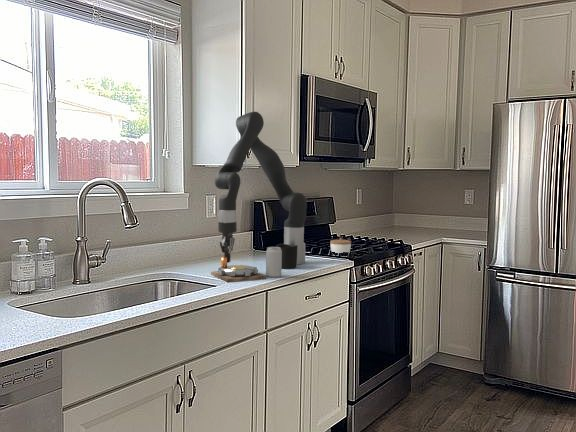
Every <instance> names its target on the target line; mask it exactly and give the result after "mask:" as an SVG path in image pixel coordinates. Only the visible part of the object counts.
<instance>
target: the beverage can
mask: <svg viewBox="0 0 576 432" xmlns="http://www.w3.org/2000/svg"><path fill="white" fill-rule="evenodd" d="M265 255H266V256H265V275H266V277H268V278H274V279H276V278H279V277H281V276H282V270H283V269H282V250H281V248H280V247H277V246H268V247H266V251H265Z"/></svg>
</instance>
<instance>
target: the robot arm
mask: <svg viewBox="0 0 576 432" xmlns="http://www.w3.org/2000/svg"><path fill="white" fill-rule="evenodd" d="M264 123H265V122H264V118H263V115H261V113H260V112H259V111H251V112H247V113H244V114H241V115H239V116H238V117H237V118H236V120H235V127H236V129H237V131H238V133H239V135H240V138H239V139H238V141H237V142H236V143H235V144H234V146H233V147H232V148H231V150H230V152H229V154H228V156H227V159H226V161H225V162H224V164H223V165H222V166H221V167H220V169H219V170H218V171H217V173H216V174H215V176H214V185H215V187H216V188H217V189H219V190H228V192H227V194H224V195H220V196H219V199H218V215H217V220H218V221H217V222H218V223H217V226H218V229H217V231H218V233H220V234H221V233H222V236H221V241H219V246H220V249H221V252H222V253H223V254H224V255H223V257H227V264H228V263H231V253H232V251H233V250H234V245H235V242H236V241H235V240H236V239H235V238H234V236H233V234H234V233H237V230H238V228H237V225H238V224H237V221H238V219H237V218H238V217H237V216H238V215H237V198H238V194H239V190H240V187H241V177H240V175H239V174H238V173H240V172H241V170H242V168H243V166H244V164H245V161H246V158H247V156H248V153H249V152H250V150H251V152H252V153H253V155H254V157H255V158H256V159H257V161H258V163H259V166H260V167H261V169H262V171H263V172H264V174H265V175H266V177H267V179H268V181H269V182H270V185H271V186H272V187H273V189H274V190H275V192H276V195H277V197H278V200H279V203H280V204H281V206H282V208H283V209H284V210H285V211H287V212H289V213H288V217H287V219H285V220H284V222H283V223H284V224H283V225H284V226H283V229H284V230H283V244H287V245H290V246H295V245H298V249H297V265H298V266H299V265H303V264H306V243H305V242H304V241H305V238H304V237H305V235H304V234H305V222H306V219H307V209H308V208H307V207H308V202H307V198H306V196H305V195H304V194H303V193H301V192H294V191H293V190H292V188H291V186H290V185H289V183H288V181H287V177H286V169H285V166H284V164H283V161H282V160H281V158H280V156H279V155H278V153H277V152H276V151H275V150H273V148H271V147H270V146H268V145H267V144H266V143H264V142H263V141H262V140H261V139H260V138H259V135H260V133H261V132H262V130H263V127H264Z"/></svg>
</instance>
